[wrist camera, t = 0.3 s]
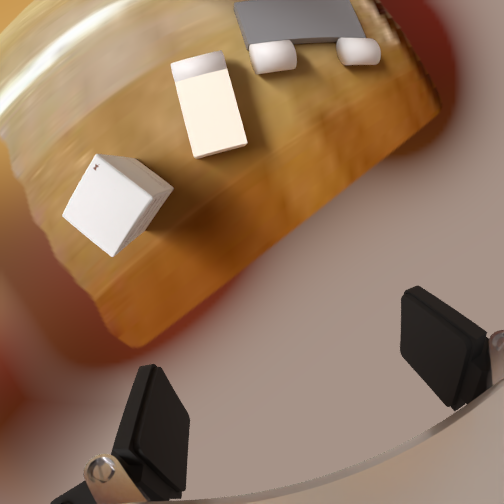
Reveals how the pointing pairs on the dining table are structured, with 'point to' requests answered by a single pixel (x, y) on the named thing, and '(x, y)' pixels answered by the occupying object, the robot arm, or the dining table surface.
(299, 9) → the fixed leaf
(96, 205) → the supplement box
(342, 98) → the dining table surface
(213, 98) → the cream hinge flap
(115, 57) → the dining table surface
